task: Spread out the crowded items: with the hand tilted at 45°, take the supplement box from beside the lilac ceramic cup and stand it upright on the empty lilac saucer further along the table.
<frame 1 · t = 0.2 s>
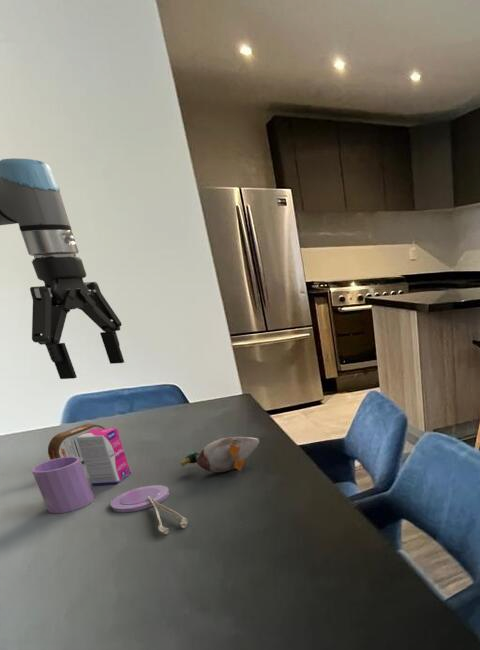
hand: (94, 370, 99), 25 cm above the table, tool pointing down, fingers open, 13 cm apart
beige thin v-shaped piece: (161, 514, 93), on the table, touching saucer
decorative duck model: (227, 467, 115), on the table
saucer: (141, 499, 101), on the table
lilac cup: (71, 504, 101), on the table
tin: (87, 460, 124), on the table
supplement box: (113, 480, 111), on the table
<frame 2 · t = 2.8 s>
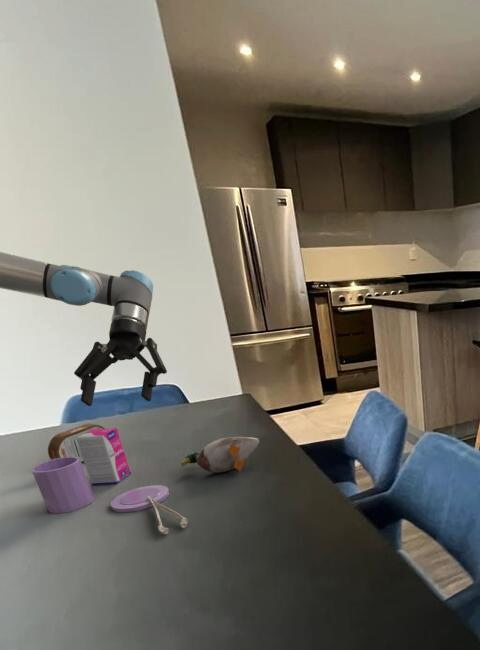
hand: (116, 400, 115), 16 cm above the table, tool tilted 45°, fingers open, 13 cm apart
nothing on the table moved.
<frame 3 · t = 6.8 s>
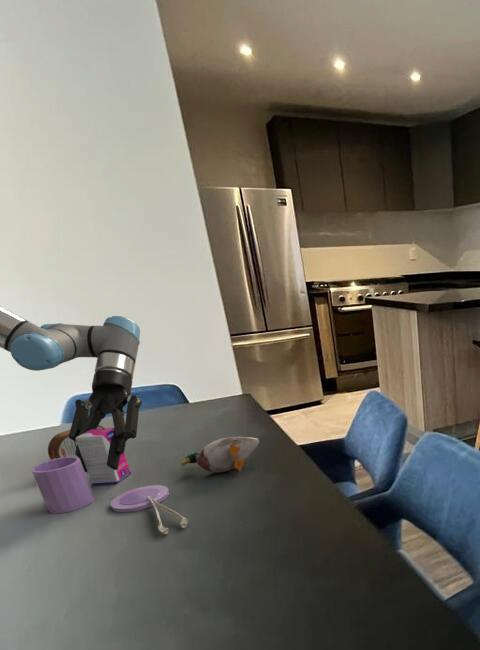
hand: (96, 468, 106), 4 cm above the table, tool tilted 45°, fingers closed on supplement box, 6 cm apart
supplement box: (112, 480, 111), on the table, touching gripper
everything else where it was.
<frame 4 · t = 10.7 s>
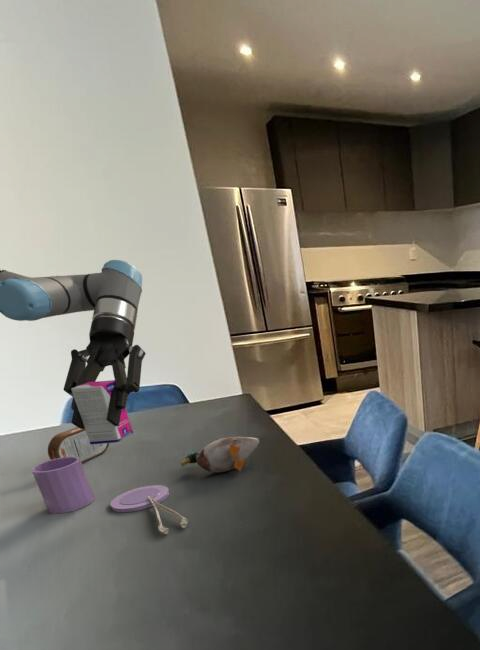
hand: (95, 424, 95), 16 cm above the table, tool tilted 45°, fingers closed on supplement box, 6 cm apart
supplement box: (113, 439, 100), point 12 cm above the table, touching gripper
everything else where it was.
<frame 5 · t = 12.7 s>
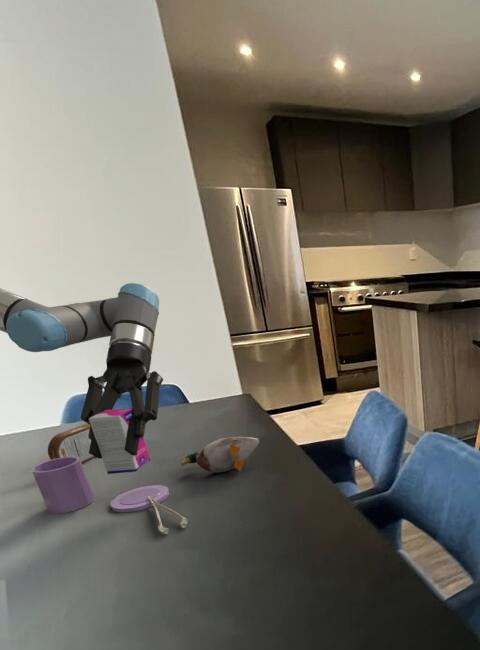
hand: (113, 453, 93), 12 cm above the table, tool tilted 45°, fingers closed on supplement box, 6 cm apart
supplement box: (130, 468, 98), point 7 cm above the table, touching gripper
everything else where it was.
when the fingers open (6 cm above the table, at t = 14.7 s): supplement box stays where it is, resting on saucer, beige thin v-shaped piece.
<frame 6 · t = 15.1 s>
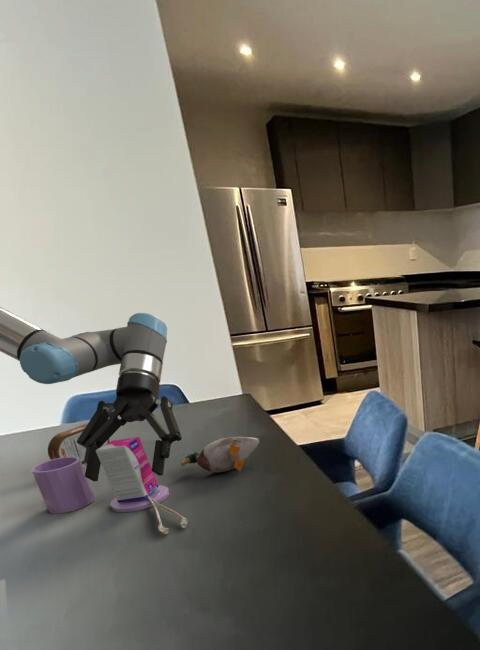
hand: (124, 476, 96), 7 cm above the table, tool tilted 45°, fingers open, 12 cm apart
beige thin v-shaped piece: (161, 514, 94), on the table, touching saucer, supplement box
supplement box: (140, 495, 100), point 1 cm above the table, touching saucer, beige thin v-shaped piece
everything else where it was.
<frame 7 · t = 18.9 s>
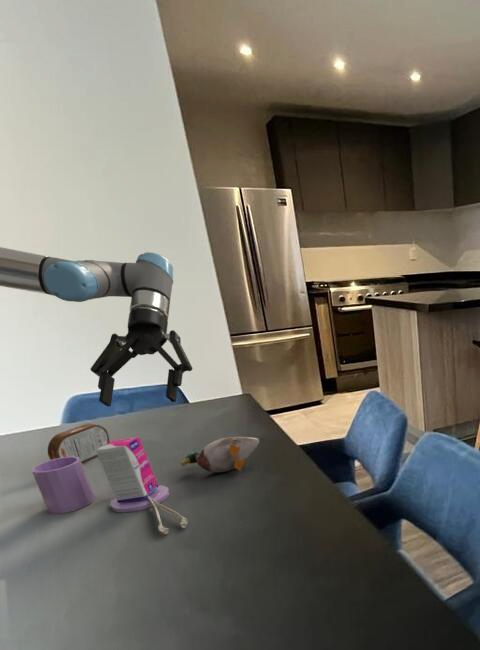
hand: (138, 401, 104), 18 cm above the table, tool tilted 40°, fingers open, 13 cm apart
nothing on the table moved.
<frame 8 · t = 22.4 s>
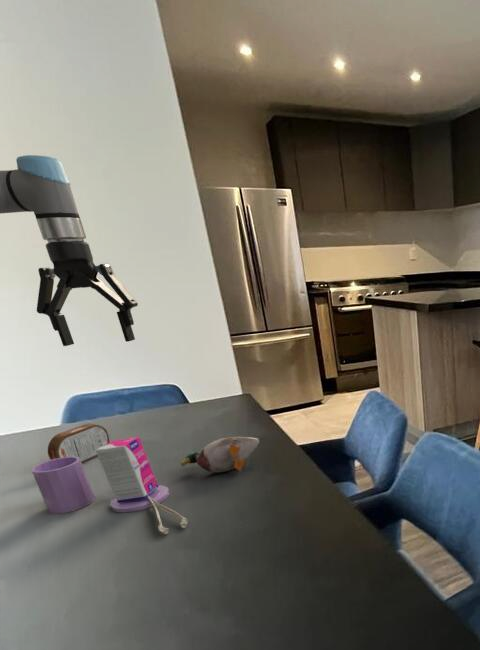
hand: (99, 343, 112), 29 cm above the table, tool pointing down, fingers open, 13 cm apart
nothing on the table moved.
at the end: supplement box 0.0 cm from the saucer (horizontally); supplement box tilted 5°; lilac cup inside the target area (0.0 cm from its centre), on the table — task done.
